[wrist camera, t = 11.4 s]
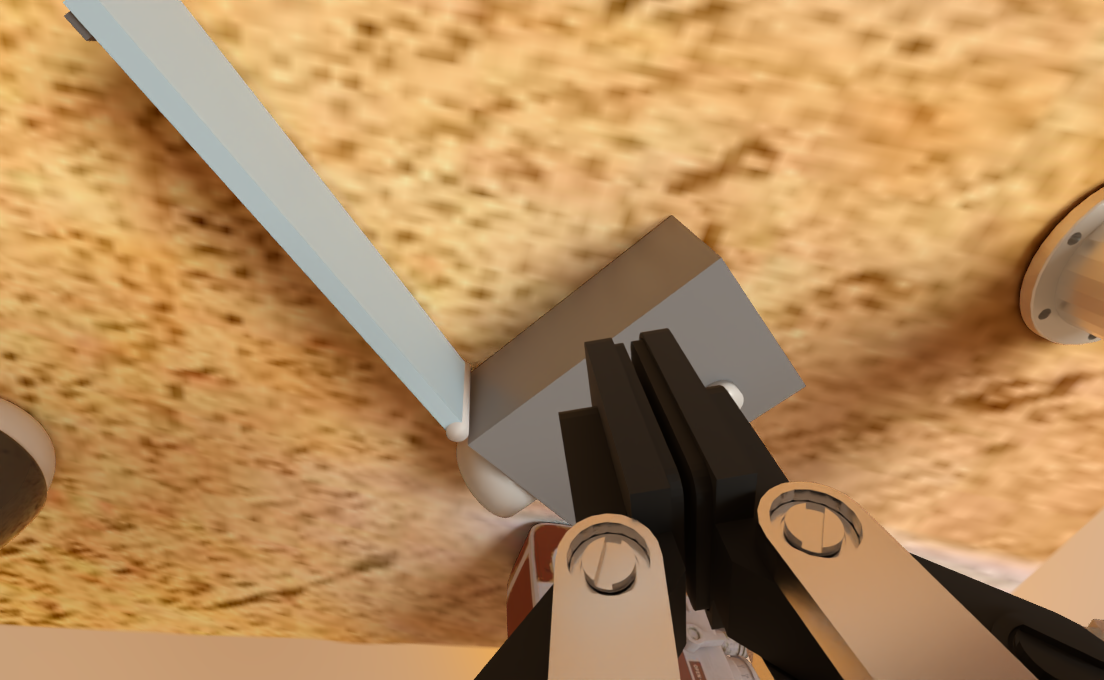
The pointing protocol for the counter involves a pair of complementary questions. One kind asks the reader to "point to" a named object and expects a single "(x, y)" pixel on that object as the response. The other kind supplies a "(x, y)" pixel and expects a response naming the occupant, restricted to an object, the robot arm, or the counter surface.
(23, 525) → the dark grey egg-shaped piece
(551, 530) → the cine camera
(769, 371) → the block
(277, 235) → the side door
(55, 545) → the counter surface
